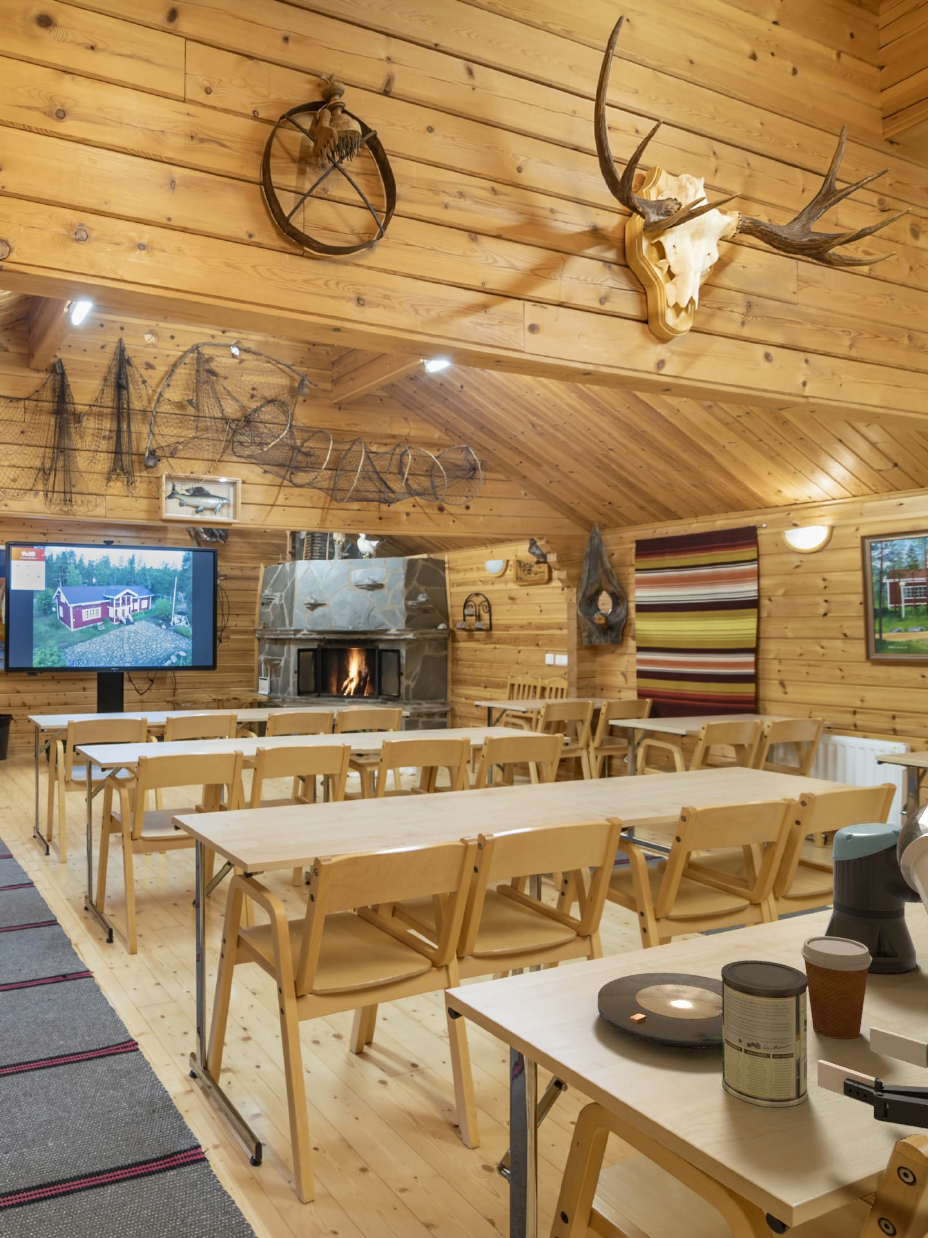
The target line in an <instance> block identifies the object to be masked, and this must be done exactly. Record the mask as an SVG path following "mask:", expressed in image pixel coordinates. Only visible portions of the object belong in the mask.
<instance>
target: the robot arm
mask: <svg viewBox="0 0 928 1238" xmlns="http://www.w3.org/2000/svg"><path fill="white" fill-rule="evenodd" d="M832 843H833V845H832V853H831V858H832V869H833V870H832V875H833V876H832V881H833V883H832V899H833V900H832V913H831V916H830V919H829V921H828V925H827V927H826V931H825V932H824V933H825V934H824V936H829V937H839V938H845V939H850V940H853V941H857V942H859V943H862V944H864V945H865V946H866V947H867V948H868V950H869V955H870V956H871V957H872V962H871V963H870V966H869V967H868V973H877V974H899V973H901V974H902V973H906V972H911V971H912V970H914V969H915V968H916V967H917V952H916V948H915V945H914V943H913V940H912V937H911V936H912V935H911V934H910V931H909V928H908V925H907V922H906V918H905V916H906V915H905V914H906V913H905V911H906V910H905V906H906V903H910V904H912V903H913V904H914V903H915V904H923V907H924V909H925V912H926V914H927V915H928V801H927V802H926V803H923V804H922V805H921V806H920V807H919V808H916V810H915V811H914V812H913V813H912V814H911V815H910V816H909V817H908V818H907V819H906V821H905V823H904V824H903V826H902V825H899V824H895V823H884V822H883V823H882V822H872V823H871V822H870V823H859V824H852V825H848V826H844V827H842V828H840V829H838V830H837V831H836V832H835V834H834V836H833V841H832ZM869 1051H870V1052H874V1053H877V1054H880V1055H884V1056H886V1057H889V1058H891V1059H892V1058H893V1059H896V1060H899V1061H902V1062H904V1063H908V1064H912V1065H914V1066H917V1067H921V1068H924V1069H928V1042H927V1041H923V1040H919V1039H917V1038H913V1037H910V1036H907V1035H902V1034H900V1033H896V1032H893V1031H890V1030H887V1029H883V1028H879V1027H877V1026H871V1027H870V1028H869ZM817 1087H818V1088H819V1087H820V1088H821V1089H824V1090H828V1091H830V1092H833V1093H836V1094H839V1095H841V1096H844V1097H846V1098H850V1099H852V1100H855V1101H858V1102H861V1103H862V1104H863V1103H864V1104H866V1105H869V1106H872V1107H873V1119H874V1120H876V1121H879V1122H883V1123H889V1124H897V1125H901V1126H908V1127H914V1128H920V1129H925V1130H928V1086H916V1085H914V1086H913V1085H899V1084H897V1085H896V1084H883V1081H882V1079H881V1078H880V1077H879V1076H876V1077H874V1076H871V1075H868V1074H865V1073H862V1072H859V1071H856V1070H853V1069H851V1068H847V1067H844V1066H841V1065H838V1064H836V1063H832V1062H829V1061H826V1060H824V1059H819V1060H818V1061H817Z"/></svg>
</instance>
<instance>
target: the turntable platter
mask: <svg viewBox="0 0 928 1238" xmlns="http://www.w3.org/2000/svg"><path fill="white" fill-rule="evenodd" d="M597 993H598V994H597V1011H598V1013H599V1015H600V1016H601V1017H602V1019H603V1020H604V1021H606V1022H607V1023H608V1025H611V1026H612V1027H613V1028H615V1029H617V1030H619V1031H621V1032H623V1033H625V1034H628V1035H630V1036H632V1037H636V1038H639V1039H642V1040H646V1041H649V1042H653V1043H656V1042H657V1043H656V1044H659V1043H662V1044H661V1045H663V1044H668V1045H674V1046H684V1047H700V1048H699V1049H703V1048H702V1047H710V1048H723V1021H722V1020H723V1017H722V979H721V980H720V979H717V978H713V977H708V976H702V975H698V974H689V973H678V972H647V973H645V972H644V973H636V974H630V975H626V976H621V977H619V978H615V979H613V980H611V981H608V982H607V983H606V984H604V985H603V986H602V987H601V988H600V989H599V991H598V992H597ZM668 1045H667V1046H668ZM674 1046H673V1047H674Z"/></svg>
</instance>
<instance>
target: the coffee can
mask: <svg viewBox="0 0 928 1238" xmlns="http://www.w3.org/2000/svg"><path fill="white" fill-rule="evenodd" d="M720 973H721V974H720V976H721V981H722V1017H723V1020H722V1021H723V1047H722V1078H721V1083H722V1087H723V1088H724V1089H725V1091H727V1093H729V1095H731V1096H733V1097H734V1098H737V1099H739V1100H741V1101H743V1102H745V1103H749V1104H751V1105H757V1106H759V1107H768V1108H785V1107H793V1106H797V1105H799V1104H802V1103H804V1102H805V1101H806V1099H807V1098H808V1096H809V1095H808V1094H809V1091H808V1033H807V1032H808V1022H807V1021H808V1014H807V1013H808V1010H807V1009H808V1004H807V1003H808V1001H807V999H808V998H807V997H808V996H807V995H808V993H807V992H808V991H807V990H808V978H807V976H806V974H805V973H804V972H803V971H801V970H799V969H797V968H795V967H793V966H789V965H787V964H783V963H779V962H773V961H766V960H757V959H756V960H751V959H749V960H748V959H747V960H746V959H745V960H738V961H731V962H730V963H727V964H725V965H723V966H722V967H721V970H720Z"/></svg>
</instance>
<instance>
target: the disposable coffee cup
mask: <svg viewBox="0 0 928 1238" xmlns="http://www.w3.org/2000/svg"><path fill="white" fill-rule="evenodd" d="M800 954H801V955H802V958H803V960H804V967H805V973H806V974H805V975H806V976H807V978H808V986H807V990H808V991H807V992H808V998H809V1007H810V1014H811V1023H812V1028H813V1030H815V1032H817V1033H819V1034H821V1035H823V1036H827V1037H830V1038H832V1039H833V1038H834V1039H854V1038H857V1037H859V1036H860V1034H861V1027H862V1018H863V1013H864V1012H863V1011H864V1003H865V996H866V989H867V983H868V982H867V980H868V973H869V972H868V967H869V966H870V963H871V962H872V957H871V956H870V955H869V950H868V948H867V947H866V946H865V945H864V944H862V943H859V942H857V941H853V940H850V939H845V938H839V937H829V936H825V935H824V936H813V937H808V938H806V939H805V940H804V942H803V947H801V948H800Z"/></svg>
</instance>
